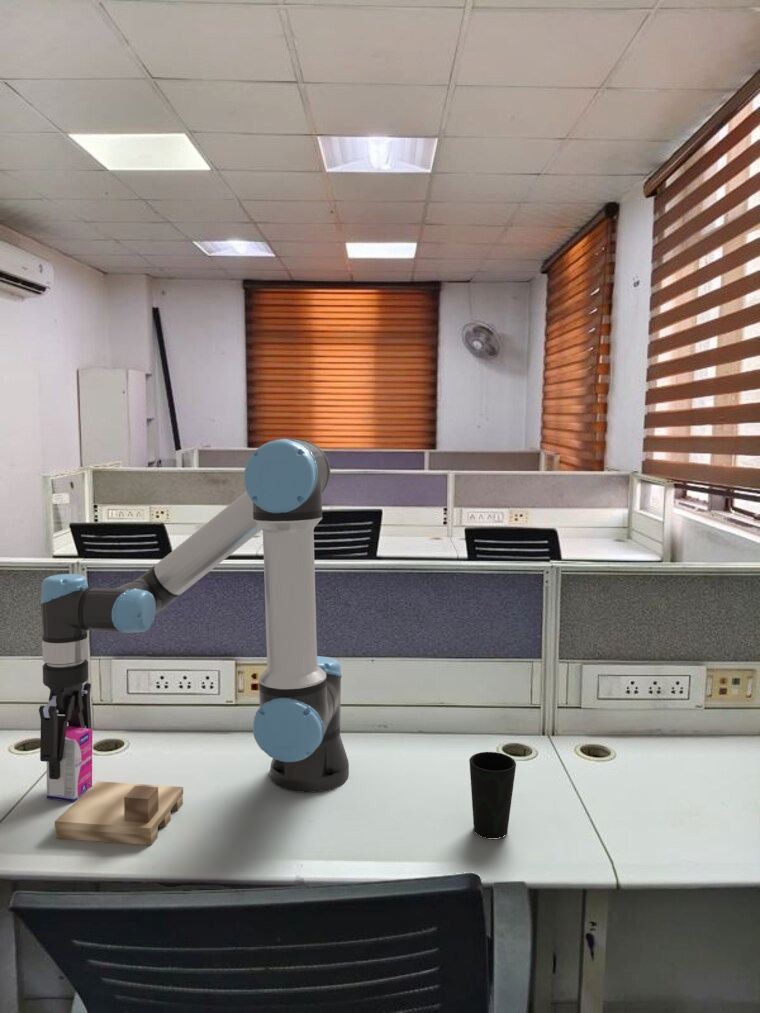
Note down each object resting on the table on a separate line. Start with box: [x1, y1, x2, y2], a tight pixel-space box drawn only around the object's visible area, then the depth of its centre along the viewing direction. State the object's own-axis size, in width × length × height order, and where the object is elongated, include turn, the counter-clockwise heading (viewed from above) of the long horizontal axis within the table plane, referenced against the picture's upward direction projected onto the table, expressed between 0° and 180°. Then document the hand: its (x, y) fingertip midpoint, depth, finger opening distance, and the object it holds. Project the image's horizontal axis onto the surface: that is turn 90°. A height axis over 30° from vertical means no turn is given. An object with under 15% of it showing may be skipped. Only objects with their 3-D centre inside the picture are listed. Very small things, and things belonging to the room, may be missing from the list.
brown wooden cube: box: [124, 786, 158, 823], centre depth 120 cm, size 4×4×4 cm
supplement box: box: [46, 725, 93, 803], centre depth 133 cm, size 6×6×12 cm
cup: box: [469, 751, 517, 839], centre depth 122 cm, size 8×8×12 cm
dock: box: [54, 780, 184, 846], centre depth 124 cm, size 16×14×3 cm
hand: (68, 785), depth 133 cm, fingers closed on supplement box, 6 cm apart
